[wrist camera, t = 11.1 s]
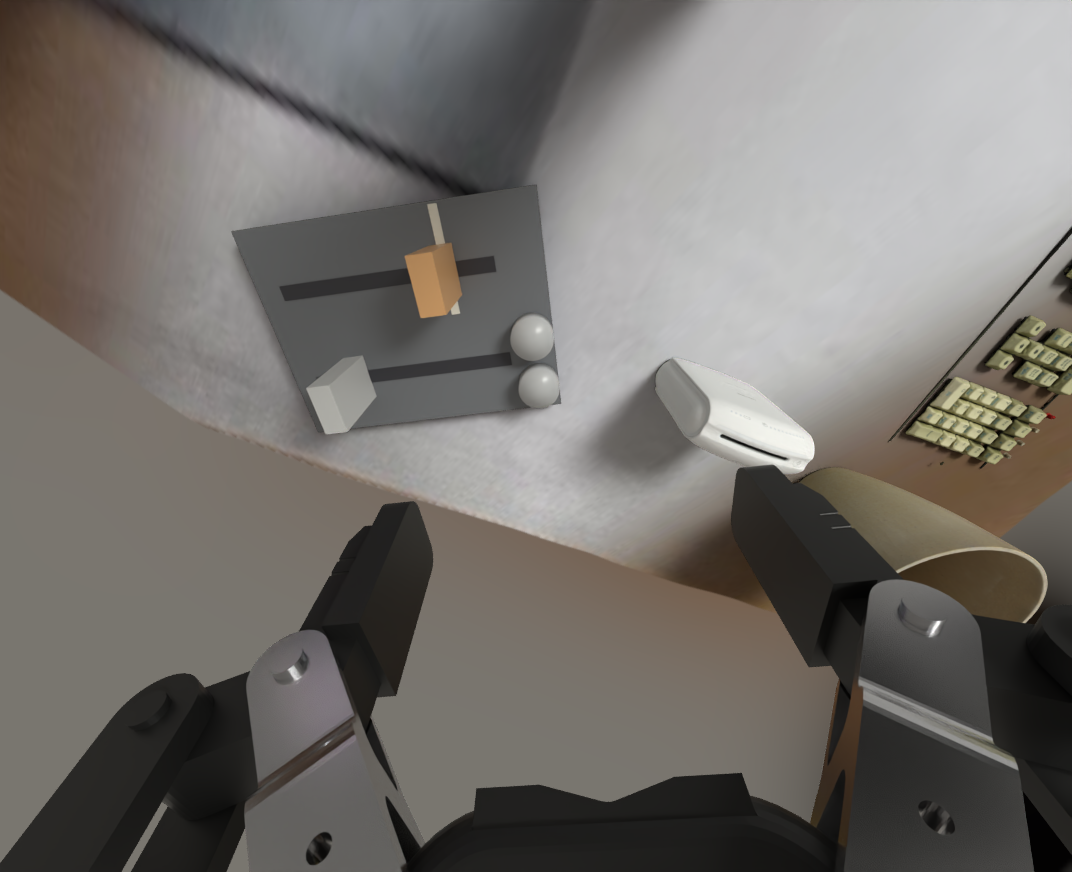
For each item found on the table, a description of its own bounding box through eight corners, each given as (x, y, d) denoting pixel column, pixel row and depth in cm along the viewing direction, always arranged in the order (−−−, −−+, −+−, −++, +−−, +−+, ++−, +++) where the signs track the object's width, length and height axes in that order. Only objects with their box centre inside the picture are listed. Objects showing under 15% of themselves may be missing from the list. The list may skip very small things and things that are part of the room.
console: (246, 229, 35) (161, 238, 27) (536, 185, 33) (536, 180, 25) (327, 423, 44) (280, 472, 36) (560, 395, 42) (565, 440, 34)
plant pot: (731, 486, 47) (812, 606, 33) (867, 411, 43) (1027, 513, 29) (786, 563, 53) (874, 693, 39) (911, 503, 48) (1063, 626, 34)
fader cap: (428, 245, 33) (404, 256, 27) (451, 242, 33) (431, 251, 27) (441, 297, 35) (420, 318, 29) (462, 294, 35) (446, 314, 29)
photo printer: (761, 385, 41) (840, 450, 31) (736, 421, 43) (802, 495, 33) (668, 349, 40) (717, 404, 29) (646, 388, 42) (684, 455, 31)
